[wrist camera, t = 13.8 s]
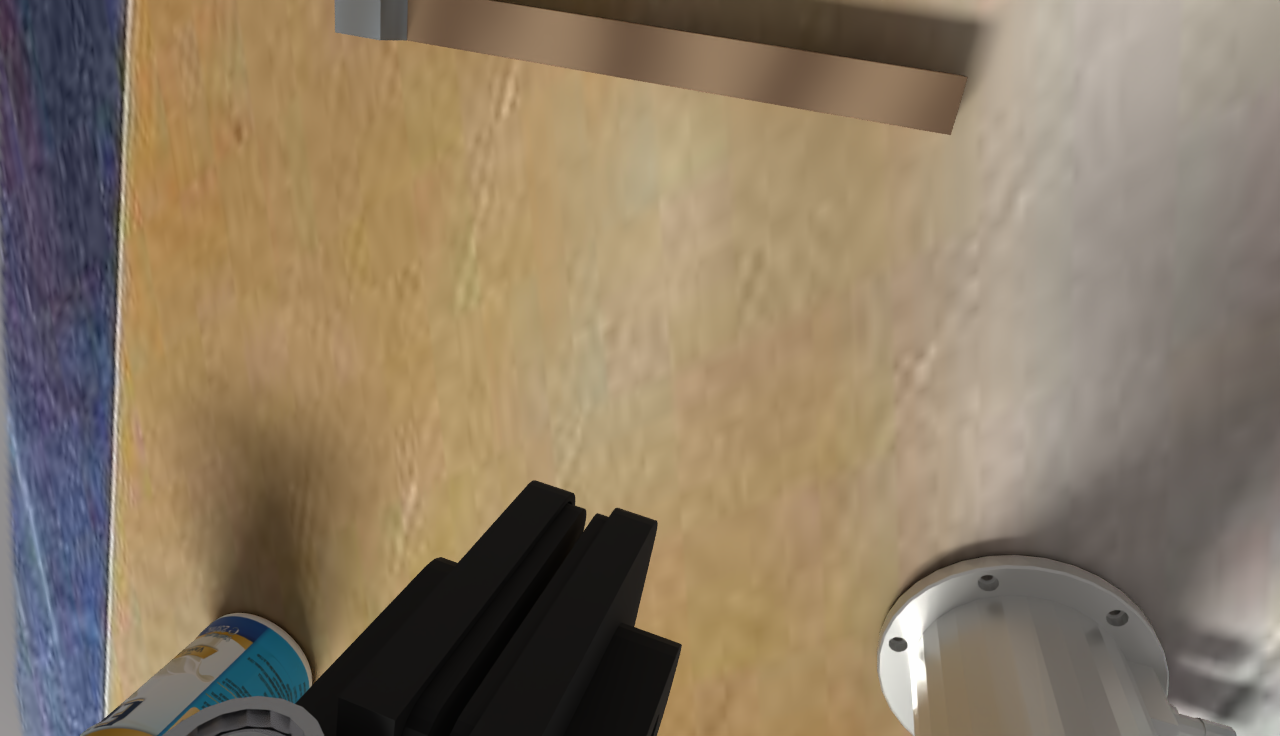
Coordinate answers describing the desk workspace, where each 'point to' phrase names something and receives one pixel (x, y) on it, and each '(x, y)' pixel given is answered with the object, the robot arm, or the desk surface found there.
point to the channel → (668, 58)
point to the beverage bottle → (214, 676)
